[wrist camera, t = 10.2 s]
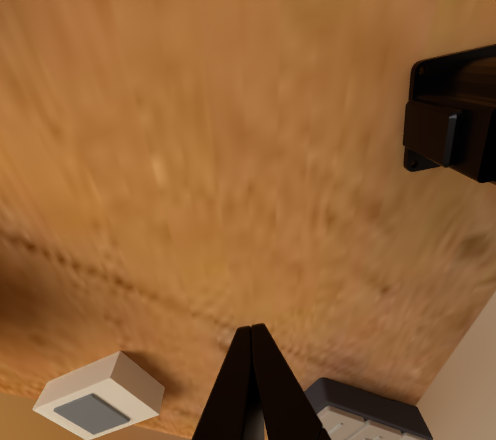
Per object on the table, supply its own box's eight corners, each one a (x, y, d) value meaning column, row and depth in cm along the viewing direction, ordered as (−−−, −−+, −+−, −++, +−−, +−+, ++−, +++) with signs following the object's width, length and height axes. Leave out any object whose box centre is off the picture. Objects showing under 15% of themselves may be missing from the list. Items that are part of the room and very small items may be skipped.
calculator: (328, 409, 28) (439, 447, 31) (318, 367, 32) (418, 406, 35) (268, 458, 32) (372, 487, 36) (266, 417, 36) (359, 447, 40)
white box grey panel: (108, 380, 24) (30, 412, 26) (158, 417, 28) (86, 443, 29) (121, 347, 27) (50, 377, 29) (165, 384, 30) (98, 409, 32)
